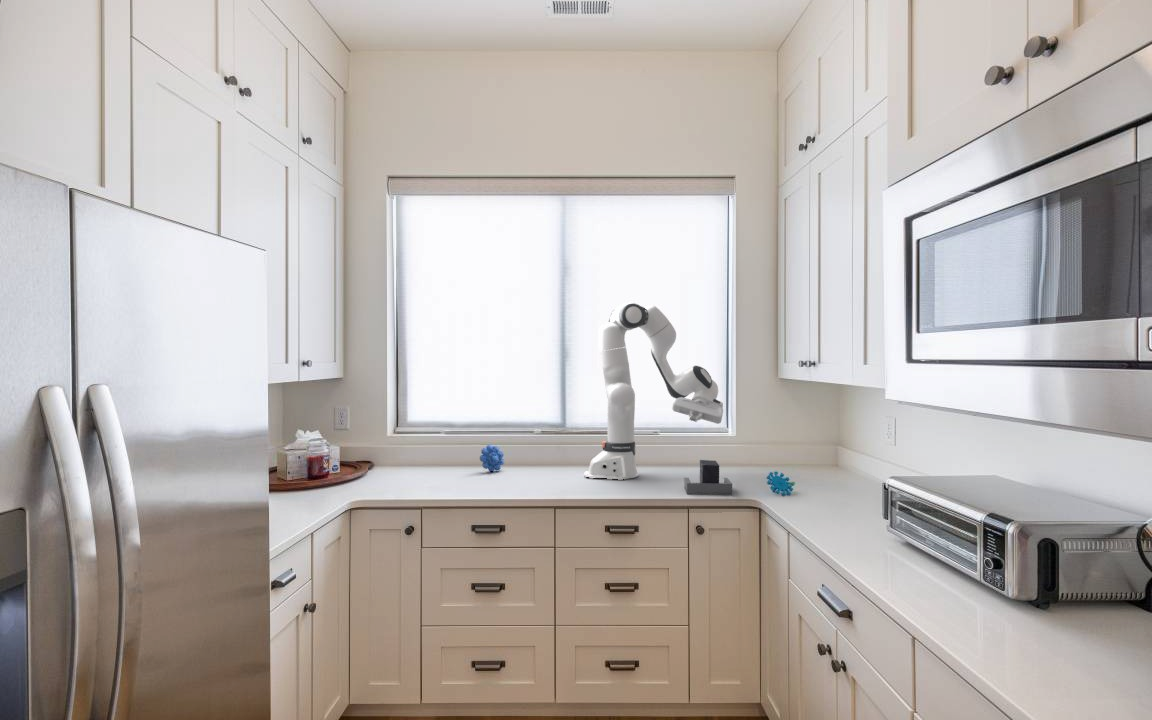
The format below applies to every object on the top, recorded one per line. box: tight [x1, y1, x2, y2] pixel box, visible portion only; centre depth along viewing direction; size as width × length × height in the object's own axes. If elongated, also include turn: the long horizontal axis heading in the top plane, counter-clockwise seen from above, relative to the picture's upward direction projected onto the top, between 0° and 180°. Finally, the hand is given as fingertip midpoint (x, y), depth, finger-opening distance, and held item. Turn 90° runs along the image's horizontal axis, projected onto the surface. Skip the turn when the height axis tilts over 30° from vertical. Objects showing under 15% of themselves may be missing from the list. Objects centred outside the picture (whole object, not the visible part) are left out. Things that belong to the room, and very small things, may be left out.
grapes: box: [479, 444, 505, 472], centre depth 256 cm, size 12×7×12 cm, turn 126°
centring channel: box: [683, 477, 733, 496], centre depth 217 cm, size 16×10×4 cm, turn 85°
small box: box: [699, 459, 720, 483], centre depth 219 cm, size 11×6×10 cm, turn 174°
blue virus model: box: [766, 470, 796, 497], centre depth 214 cm, size 11×6×10 cm
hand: (693, 419), depth 236 cm, fingers closed
